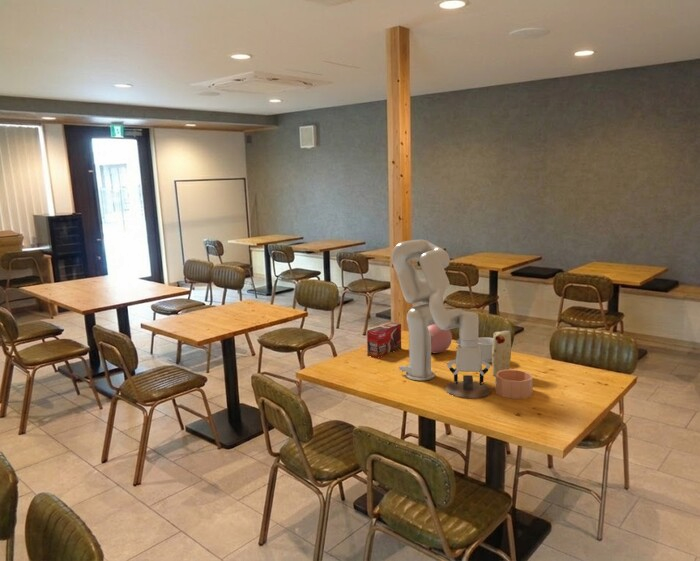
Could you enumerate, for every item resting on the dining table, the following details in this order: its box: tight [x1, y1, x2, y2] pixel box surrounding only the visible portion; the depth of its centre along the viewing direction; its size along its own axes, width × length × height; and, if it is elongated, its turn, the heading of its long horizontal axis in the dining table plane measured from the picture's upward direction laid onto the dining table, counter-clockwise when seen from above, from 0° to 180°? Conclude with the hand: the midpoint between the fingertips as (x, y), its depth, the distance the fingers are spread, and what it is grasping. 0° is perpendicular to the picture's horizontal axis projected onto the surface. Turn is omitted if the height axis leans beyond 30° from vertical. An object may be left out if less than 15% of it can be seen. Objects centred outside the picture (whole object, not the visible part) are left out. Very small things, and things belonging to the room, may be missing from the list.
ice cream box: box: [366, 321, 402, 359], centre depth 274 cm, size 20×6×13 cm, turn 139°
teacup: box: [478, 336, 493, 364], centre depth 258 cm, size 12×15×10 cm
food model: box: [491, 330, 512, 377], centre depth 237 cm, size 10×7×20 cm
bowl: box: [494, 369, 534, 400], centre depth 218 cm, size 14×14×7 cm
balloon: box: [428, 324, 453, 354], centre depth 271 cm, size 15×20×15 cm
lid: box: [445, 374, 492, 400], centre depth 221 cm, size 18×18×6 cm
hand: (468, 383), depth 221 cm, fingers open, 9 cm apart
